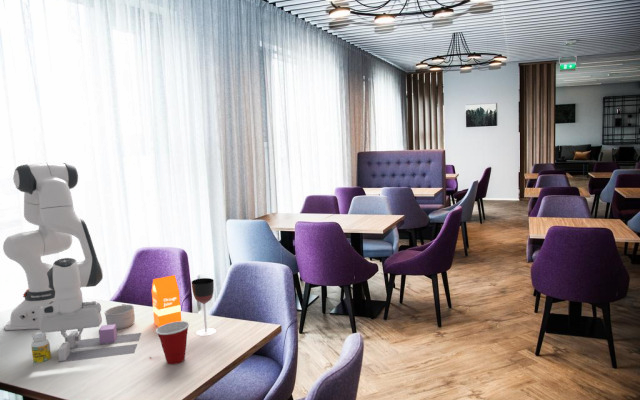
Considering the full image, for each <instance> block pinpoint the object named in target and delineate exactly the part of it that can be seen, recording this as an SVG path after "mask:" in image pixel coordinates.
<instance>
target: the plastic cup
mask: <svg viewBox="0 0 640 400" xmlns="http://www.w3.org/2000/svg"><path fill="white" fill-rule="evenodd" d="M189 326H190V323H189V322H188V321H183V320H181V321H177V322H171V323H168V324H165V325H162V326H160V327H157V328H156V329H155V333H156V334H157V336H158V338H159V341H160V345H161V348H162V351H163V354H164V357H165V361H166V363H167V364H169V365H177V364H181V363H183V362H184V361H185V358H186V352H187V341H188V340H187V338H188V337H187V336H188V330H189Z"/></svg>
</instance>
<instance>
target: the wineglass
mask: <svg viewBox="0 0 640 400" xmlns="http://www.w3.org/2000/svg"><path fill="white" fill-rule="evenodd" d="M214 281H215V280H214V279H213V278H209V277H206V278H205V277H201V278H197V279H194V280H191V290H192V294H193V297H194V299H195V300H196V301H197V302H198V303H200V304H202V307H203V319H204V322H203V323H204V328H202V329H199V330H197V331H196V332H195V333H196V335H197V336H201V337H202V336H204V337H205V336H210V335H211V336H212V335H214V334H215V333H217V330H216V329H215V328H212V327H211V328H210V327H208V325H207V323H208V321H207V312H206V308H207V307H206V304H207V303H209V302H210V301H211V300H212V298H213V295H214V291H215V289H214V287H215V285H214V283H215V282H214Z"/></svg>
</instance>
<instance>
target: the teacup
mask: <svg viewBox="0 0 640 400" xmlns="http://www.w3.org/2000/svg"><path fill="white" fill-rule="evenodd" d="M134 308H135V307H134V306H133V305H132V304H125V303H122V304H121V305H116V306H113V307H110V308H108V309H106V310H105V311H104V315H105V316H104V317H105V322H106V325H113V324H116V330H121V329H126V328H129V327H132V325H133V324H134V322H135V319H136V318H135V309H134Z"/></svg>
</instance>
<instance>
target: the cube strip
mask: <svg viewBox="0 0 640 400" xmlns="http://www.w3.org/2000/svg"><path fill="white" fill-rule="evenodd" d="M78 334H79V332H78V330H71V331H70V333H69V335H68V337H67V341H68V342H69V344H70V350H74V349H82V348H90V347H98V346H99V347H100V346H105V345H106V346H107V345H108V346H109V345H114V344H115V345H116V344H123V343H132V342H139V340H140V338H141V336H142V332H136V333H135V332H134V333H129V334H128V333H127V334H121V335H120V334H119V335H118V334H117V338H116V340H115V342H111V343H103V344H100V339H99V337H93V338H86V339H81V340H80V341H75V336H76V335H78Z"/></svg>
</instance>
